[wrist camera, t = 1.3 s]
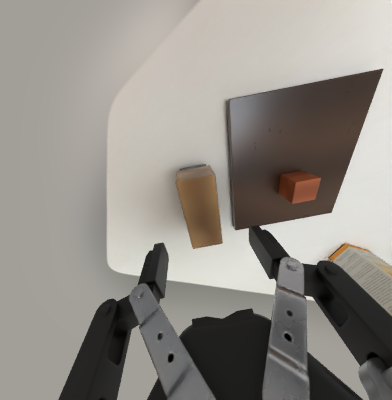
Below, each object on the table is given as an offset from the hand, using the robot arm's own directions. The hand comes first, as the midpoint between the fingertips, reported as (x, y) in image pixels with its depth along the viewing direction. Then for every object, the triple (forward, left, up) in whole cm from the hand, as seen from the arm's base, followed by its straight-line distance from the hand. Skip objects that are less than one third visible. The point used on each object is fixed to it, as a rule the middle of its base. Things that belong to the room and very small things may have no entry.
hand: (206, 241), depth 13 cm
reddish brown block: (0, +13, -8) cm, 15 cm away
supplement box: (+21, +30, -9) cm, 38 cm away
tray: (-2, +13, -9) cm, 16 cm away
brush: (0, 0, -9) cm, 9 cm away
